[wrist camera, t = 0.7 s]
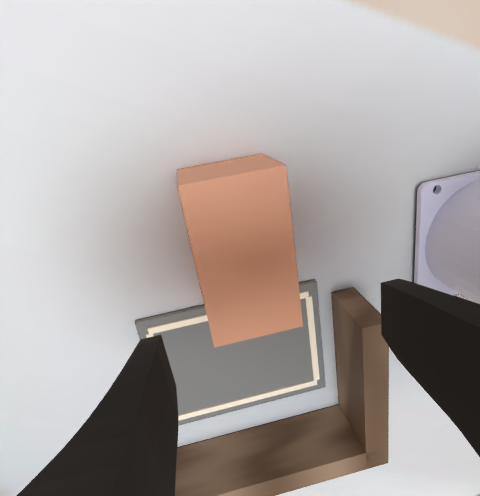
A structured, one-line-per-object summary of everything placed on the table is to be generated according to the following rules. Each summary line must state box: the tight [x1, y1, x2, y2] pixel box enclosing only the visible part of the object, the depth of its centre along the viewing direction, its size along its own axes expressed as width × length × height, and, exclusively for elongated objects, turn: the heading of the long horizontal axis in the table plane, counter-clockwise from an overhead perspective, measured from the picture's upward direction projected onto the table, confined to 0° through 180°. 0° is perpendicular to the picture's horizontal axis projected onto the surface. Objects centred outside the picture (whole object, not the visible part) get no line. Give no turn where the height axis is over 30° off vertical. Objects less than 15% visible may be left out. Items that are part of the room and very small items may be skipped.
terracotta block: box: [177, 154, 303, 348], centre depth 18 cm, size 4×8×4 cm, turn 9°
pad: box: [135, 279, 325, 425], centre depth 23 cm, size 11×8×1 cm
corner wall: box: [175, 287, 389, 496], centre depth 22 cm, size 15×11×4 cm
